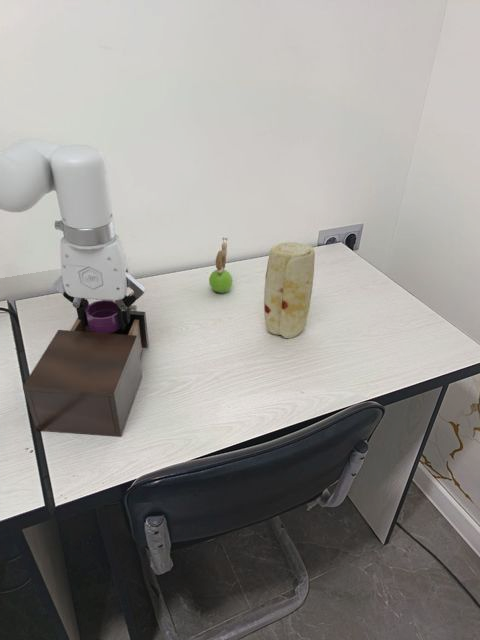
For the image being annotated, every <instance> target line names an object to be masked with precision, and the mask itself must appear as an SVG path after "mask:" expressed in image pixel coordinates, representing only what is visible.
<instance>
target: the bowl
mask: <svg viewBox="0 0 480 640" xmlns="http://www.w3.org/2000/svg"><path fill="white" fill-rule="evenodd" d="M118 309H119V307H118V305H117V303H116V302H115V300H96V301H93V302H91V303H89V305H88V306H87V308H86V309H85V315H86V320H87V325H88V328H89V330H90V331H92V332H96V333H109V334H110V333H113V332H115V331H117V330H118V329H120V328H119V321H118V314H117V311H118Z"/></svg>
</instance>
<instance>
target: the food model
mask: <svg viewBox="0 0 480 640" xmlns="http://www.w3.org/2000/svg"><path fill="white" fill-rule="evenodd" d="M315 259H316V252H315V249H314V247H313V246H312V245H310V244H307V243H300V242H295V241H286V242H280V243H278V244H276V245H273V246H272V247H271V248H270V250H269V254H268V259H267V266H266V272H265V279H264V280H265V281H264V291H263V292H264V293H263V296H264V297H263V311H264V312H263V313H264V314H263V315H264V323H265V328H266V330H267V331H268V332H269V333H270V334H273V335H277V336H278V335H280V336H282V338H284V339H293V338H294V337H297V336H298V335H299V334H301V333H302V331H304V330H305V328H306V327H307V322H308V316H309V312H310V306H311V301H312V300H311V299H312V294H313V293H312V292H313V286H314V277H315V276H314V275H315Z"/></svg>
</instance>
